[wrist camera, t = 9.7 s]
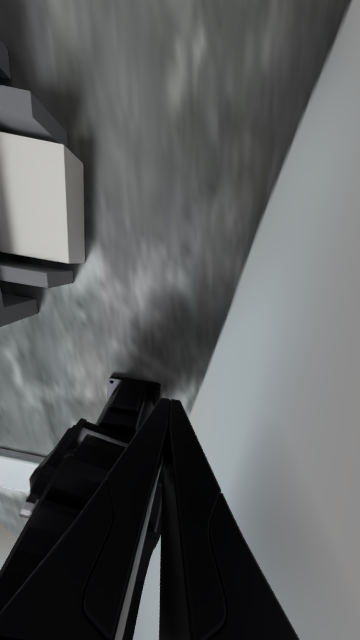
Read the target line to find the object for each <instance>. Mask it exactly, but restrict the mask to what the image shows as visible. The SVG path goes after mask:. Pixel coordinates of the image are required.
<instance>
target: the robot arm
mask: <svg viewBox="0 0 360 640" xmlns="http://www.w3.org/2000/svg"><path fill="white" fill-rule="evenodd" d="M111 380H113V381H111ZM156 387H158V388H156ZM160 388H161V385H160V384H159V383H154V382H147V381H140V380H134V379H127V378H120V377H114V376H112V377H110V378H109V379H108V387H107V403H106V405H105V407H104V409H103V411H102V413H101V415H100V416H99V418H98V420H97V422H96V424H93V423H90V422H87V421H86V420H85V419H83V418H81V419H80V420H79V422H78V423H77V424H76V425H73V427H72V428H69V429H68V430H67V431H66V433H65V434H64V436H63V437H62V439H61V440H60V441H59V443H58V444H57V446H56V447H55V448H54V449H53V450H52V451H51V452H50V454H49V455H48V456H47V457H46V458H45V459H44V460H43V461H42V462H41V463H40V464H39V465H38V467H37V468H36V469H35V470H34V472H33V473H32V475H31V476H30V478H29V483H30V491H29V493H28V495H27V497H26V499H27V500H26V502H25V504H24V506H23V508H22V510H21V512H20V516H21V517H25V518H29V519H28V521H27V523H26V525H25V527H24V528H23V530H22V532H21V534H20V536H19V537H18V539H17V541H16V543H15V545H14V547H13V548H12V550H11V552H10V554H9V556H8V558H7V559H6V561H5V563H4V565H3V567H2V569H1V570H0V640H133V635H134V630H135V625H136V620H137V615H138V609H139V605H140V599H141V594H142V590H143V585H144V580H145V577H146V573H147V569H148V565H149V561H150V558H151V555H152V552H153V550H154V548H155V547H156V545H157V543H158V541H159V538H160V535H161V562H160V567H161V568H160V621H159V623H160V624H159V640H300V639H299V638H298V636H297V634H296V632H295V630H294V629H293V627H292V625H291V623H290V621H289V620H288V618H287V616H286V614H285V612H284V610H283V609H282V607H281V605H280V604H279V601H278V600H277V598H276V596H275V594H274V592H273V591H272V589H271V587H270V585H269V584H268V582H267V580H266V578H265V576H264V574H263V573H262V571H261V569H260V567H259V565H258V563H257V561H256V560H255V558H254V556H253V554H252V552H251V550H250V549H249V547H248V544H247V543H246V541H245V539H244V537H243V535H242V533H241V531H240V529H239V527H238V525H237V523H236V521H235V519H234V517H233V514H232V512H231V510H230V508H229V506H228V504H227V502H226V499H225V497H224V495H223V493H221V489H220V487H219V484H218V482H217V480H216V478H215V476H214V473H213V471H212V469H211V467H210V465H209V463H208V461H207V458H206V456H205V454H204V452H203V449H202V447H201V445H200V443H199V441H198V439H197V436H196V435H195V432H194V430H193V428H192V425H191V423H190V421H189V419H188V417H187V414H186V412H185V410H184V408H183V406H182V404H181V402H180V400H174V399H171V400H170V399H167V398H160V400H159V395H160ZM220 493H221V494H220Z"/></svg>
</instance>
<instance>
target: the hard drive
mask: <svg viewBox="0 0 360 640" xmlns="http://www.w3.org/2000/svg"><path fill="white" fill-rule="evenodd" d="M44 459H45V458H44V457H40V456H35V455H30V454H25V453H20V452H16V451H11V450H6V449H1V448H0V487H3V488H8V489H13V490H18V491H23V492H28V493H29V491H30V483H29V478H30V476H31V475H32V473H33V472H34V470H35V469H36V468H37V467H38V465H39V464H40V463H41V462H42V461H43V460H44Z"/></svg>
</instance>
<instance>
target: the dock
mask: <svg viewBox="0 0 360 640" xmlns="http://www.w3.org/2000/svg"><path fill="white" fill-rule="evenodd" d="M0 77H1V78H6V79H10V80H11V73H10V64H9V56H8V48H7V47H6V46H5V45H4V43H3V42H2V41H1V40H0ZM0 132H3V133H8V134H13V135H18V136H23V137H28V138H33V139H38V140H43V141H48V142H53V143H58V144H63V145H64V146H65V147H67V148H68V135H67V131H66V130H65V129H64V128H63V127H62V126H61V125H60V124H59V122H58V121H57V120H56V119H55V118H54V117H53V116H52V115H51V114H50V113H49V111H48V110H47V109H46V108H45V107H44V106H43V105H42V104H41V103H40V101H39V100H38V99H37V98H36V97H35V96H34V95H33V94H32V93H31V92H30V91H27V90H22V89H17V88H13V87H8V86H3V85H0ZM0 280H2V281H9V282H15V283H21V284H27V285H33V286H39V287H45V288H51V287H56V286H60V285H65V284H70V283H73V271H71V270H65V269H59V268H53V267H47V266H41V265H35V264H30V263H24V262H18V261H12V260H6V259H0ZM37 313H38V307H37V299H33V298H27V297H21V296H15V295H9V294H3V293H1V289H0V327H1V326H4V325H7V324H10V323H12V322H15V321H18V320H21V319H23V318H26V317H29V316H32V315H35V314H37Z"/></svg>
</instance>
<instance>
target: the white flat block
mask: <svg viewBox="0 0 360 640" xmlns="http://www.w3.org/2000/svg"><path fill="white" fill-rule="evenodd" d="M0 252H6V253H11V254H17V255H23V256H29V257H34V258H40V259H46V260H51V261H57V262H63V263H68V264H72V263H85V240H84V171H83V163H82V162H81V161H80V160H79V159H78V158H77V157H76V156H75V155H74V154H73V153H72V152H71V151H70V150H69V149H68V148H67V147H65V146H64V145H63V144H58V143H53V142H48V141H43V140H38V139H33V138H28V137H23V136H18V135H13V134H8V133H3V132H0Z"/></svg>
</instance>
